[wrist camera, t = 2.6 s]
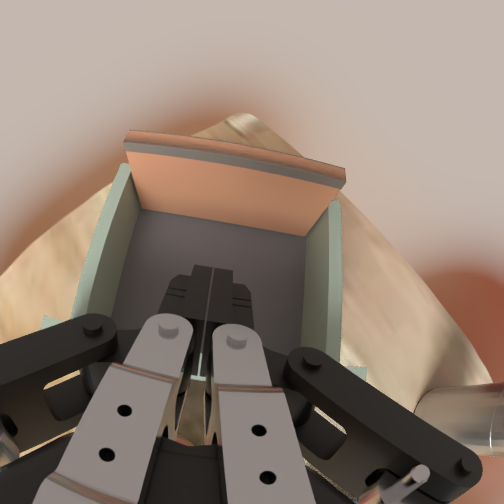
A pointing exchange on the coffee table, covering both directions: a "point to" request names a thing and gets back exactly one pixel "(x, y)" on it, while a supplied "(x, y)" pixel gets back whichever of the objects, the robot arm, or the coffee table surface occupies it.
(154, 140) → the panel
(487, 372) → the coffee table surface
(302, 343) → the truck bed
